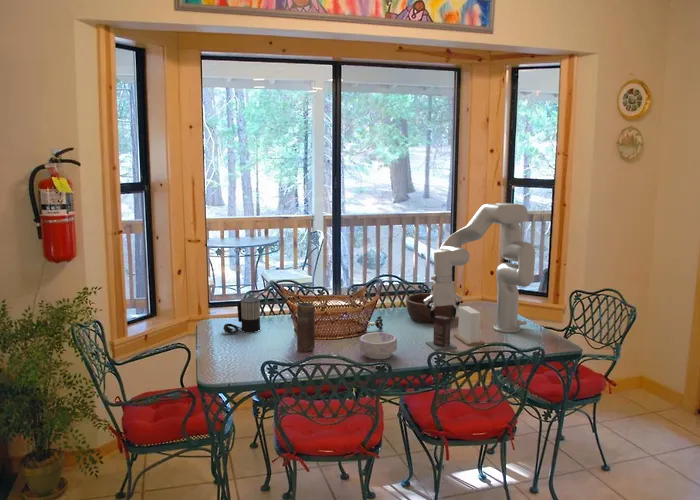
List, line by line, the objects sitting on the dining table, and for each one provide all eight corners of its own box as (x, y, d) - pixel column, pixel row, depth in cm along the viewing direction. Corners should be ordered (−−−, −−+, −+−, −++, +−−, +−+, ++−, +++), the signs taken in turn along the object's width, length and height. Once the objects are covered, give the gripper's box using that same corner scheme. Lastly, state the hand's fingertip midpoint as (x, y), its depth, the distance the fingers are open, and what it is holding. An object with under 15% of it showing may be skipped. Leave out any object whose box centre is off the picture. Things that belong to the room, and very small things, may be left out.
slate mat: (446, 341, 264) (446, 340, 264) (456, 348, 254) (456, 347, 254) (425, 343, 261) (425, 342, 261) (434, 350, 252) (434, 349, 252)
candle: (306, 346, 258) (305, 300, 255) (318, 349, 253) (318, 303, 250) (293, 350, 252) (292, 304, 249) (306, 354, 247) (305, 307, 244)
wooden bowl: (404, 311, 314) (404, 292, 313) (452, 312, 313) (453, 293, 312) (407, 325, 289) (407, 304, 288) (459, 325, 288) (459, 305, 287)
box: (450, 344, 258) (451, 317, 256) (444, 347, 254) (444, 319, 252) (438, 341, 262) (439, 315, 260) (432, 344, 258) (433, 317, 257)
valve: (358, 333, 276) (383, 331, 279) (358, 320, 275) (383, 318, 278) (354, 329, 282) (378, 328, 285) (354, 316, 281) (378, 314, 284)
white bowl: (352, 356, 245) (352, 337, 243) (375, 347, 256) (375, 329, 255) (381, 365, 235) (381, 345, 233) (404, 355, 246) (404, 336, 245)
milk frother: (265, 329, 283) (264, 298, 281) (244, 338, 269) (243, 306, 267) (241, 325, 290) (240, 295, 287) (219, 333, 276) (218, 302, 274)
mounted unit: (469, 335, 273) (470, 305, 271) (484, 344, 260) (485, 313, 258) (453, 336, 271) (454, 306, 269) (467, 345, 258) (468, 314, 256)
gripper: (427, 282, 248) (427, 322, 251) (465, 278, 252) (465, 318, 255) (420, 278, 255) (420, 317, 258) (457, 275, 259) (457, 313, 262)
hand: (442, 317), depth 256 cm, fingers open, 9 cm apart
